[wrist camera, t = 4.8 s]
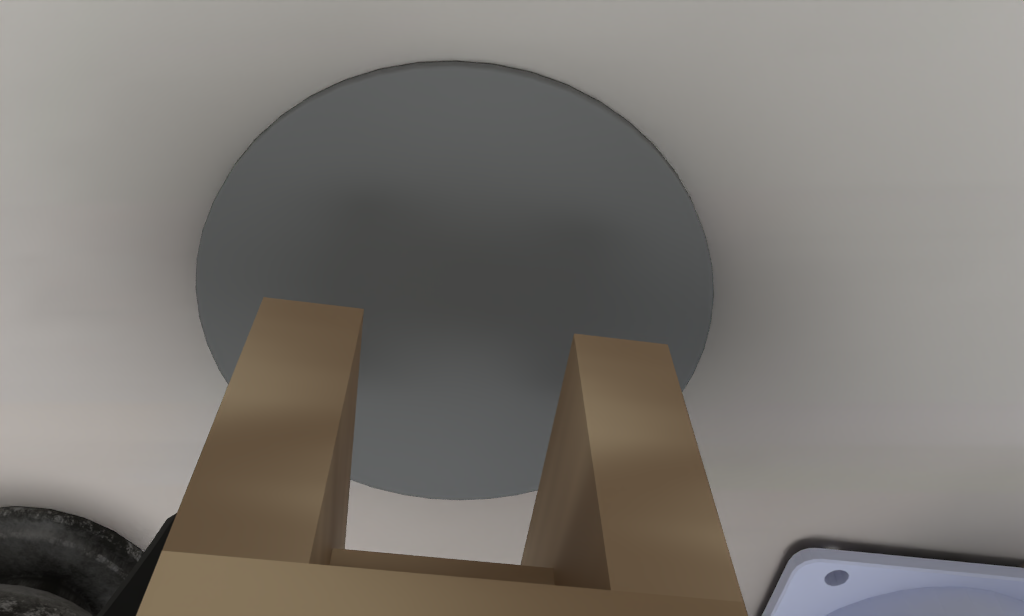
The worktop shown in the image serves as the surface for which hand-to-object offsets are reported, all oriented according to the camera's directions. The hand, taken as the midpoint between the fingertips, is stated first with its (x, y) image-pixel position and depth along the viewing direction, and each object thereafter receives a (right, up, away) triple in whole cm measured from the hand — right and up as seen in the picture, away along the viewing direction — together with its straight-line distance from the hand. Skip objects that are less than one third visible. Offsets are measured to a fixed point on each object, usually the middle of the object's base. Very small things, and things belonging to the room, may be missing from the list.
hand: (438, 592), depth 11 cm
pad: (0, +3, +5) cm, 6 cm away
